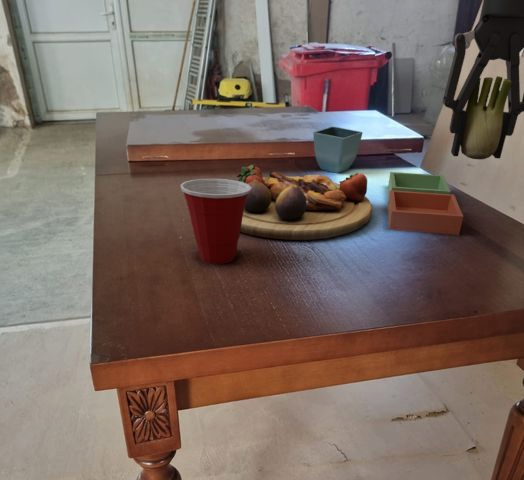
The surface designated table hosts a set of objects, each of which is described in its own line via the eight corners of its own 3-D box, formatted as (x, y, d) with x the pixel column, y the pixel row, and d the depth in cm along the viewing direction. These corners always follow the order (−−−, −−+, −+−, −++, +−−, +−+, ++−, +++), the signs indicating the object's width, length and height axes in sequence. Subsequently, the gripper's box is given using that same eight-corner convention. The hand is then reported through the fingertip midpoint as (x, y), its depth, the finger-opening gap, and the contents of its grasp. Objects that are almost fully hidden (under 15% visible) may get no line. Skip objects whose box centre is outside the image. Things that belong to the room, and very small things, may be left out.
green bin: (440, 191, 117) (443, 175, 115) (446, 208, 108) (450, 191, 106) (387, 187, 119) (390, 171, 117) (389, 204, 109) (392, 187, 107)
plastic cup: (260, 249, 89) (261, 177, 82) (236, 275, 81) (236, 198, 74) (201, 240, 92) (198, 170, 85) (173, 264, 83) (167, 189, 77)
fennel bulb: (451, 155, 88) (468, 74, 81) (473, 152, 90) (491, 73, 83) (478, 163, 83) (498, 79, 77) (499, 160, 85) (521, 78, 79)
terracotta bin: (450, 212, 106) (454, 194, 104) (458, 235, 96) (463, 216, 94) (387, 207, 108) (389, 190, 106) (388, 229, 97) (392, 211, 95)
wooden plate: (370, 192, 116) (375, 153, 111) (373, 249, 90) (380, 202, 85) (228, 182, 119) (227, 144, 115) (191, 235, 93) (189, 189, 89)
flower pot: (340, 177, 125) (344, 137, 120) (309, 170, 129) (312, 131, 124) (358, 169, 130) (363, 131, 125) (329, 163, 135) (332, 126, 130)
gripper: (449, -18, 71) (418, 158, 84) (596, -16, 69) (541, 164, 82) (442, -17, 77) (414, 146, 91) (577, -15, 75) (528, 152, 88)
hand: (475, 154), depth 86 cm, fingers closed on fennel bulb, 6 cm apart
